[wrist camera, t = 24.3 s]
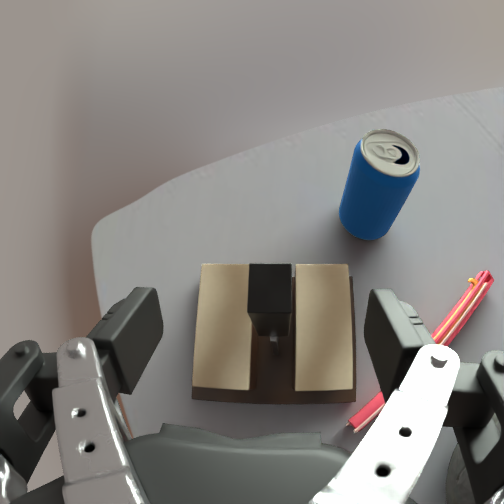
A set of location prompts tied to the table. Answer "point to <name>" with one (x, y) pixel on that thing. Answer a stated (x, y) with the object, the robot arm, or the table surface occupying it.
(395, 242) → the table surface
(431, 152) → the table surface
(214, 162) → the table surface
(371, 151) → the beverage can
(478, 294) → the pink plastic rod
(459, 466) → the bowl
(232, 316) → the slotted block
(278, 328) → the black block with pin
